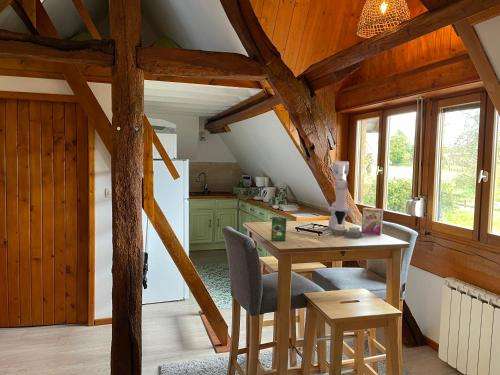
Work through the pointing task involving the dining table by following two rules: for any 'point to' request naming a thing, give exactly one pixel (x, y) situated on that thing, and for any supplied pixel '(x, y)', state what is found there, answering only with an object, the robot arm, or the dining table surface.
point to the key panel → (347, 234)
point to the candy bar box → (372, 221)
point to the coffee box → (278, 229)
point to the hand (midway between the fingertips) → (339, 224)
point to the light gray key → (354, 229)
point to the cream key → (339, 227)
